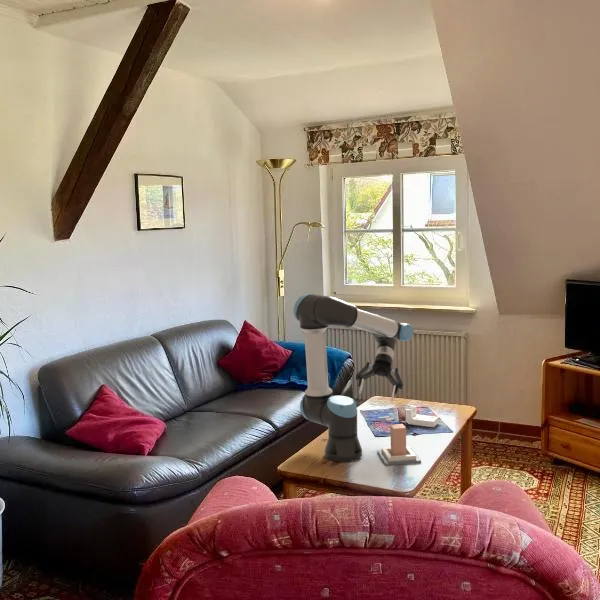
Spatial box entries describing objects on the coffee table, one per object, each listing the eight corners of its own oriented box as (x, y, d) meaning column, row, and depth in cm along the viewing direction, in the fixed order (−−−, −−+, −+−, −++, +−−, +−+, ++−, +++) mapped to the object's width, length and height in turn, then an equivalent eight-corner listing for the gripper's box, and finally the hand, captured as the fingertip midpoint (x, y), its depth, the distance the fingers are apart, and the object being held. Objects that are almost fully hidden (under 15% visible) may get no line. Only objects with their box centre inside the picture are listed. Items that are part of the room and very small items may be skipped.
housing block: (393, 458, 262) (393, 428, 260) (390, 453, 267) (390, 424, 265) (406, 457, 262) (406, 427, 261) (403, 452, 267) (402, 423, 266)
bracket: (405, 425, 304) (405, 409, 303) (411, 421, 310) (410, 405, 309) (433, 429, 298) (433, 412, 297) (438, 424, 304) (438, 408, 303)
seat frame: (385, 465, 257) (385, 459, 257) (377, 452, 271) (377, 446, 270) (421, 462, 259) (420, 456, 258) (410, 450, 272) (410, 444, 272)
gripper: (410, 370, 294) (404, 407, 279) (355, 358, 298) (346, 395, 283) (413, 358, 289) (407, 396, 274) (356, 347, 293) (347, 383, 278)
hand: (376, 395), depth 279 cm, fingers open, 13 cm apart
